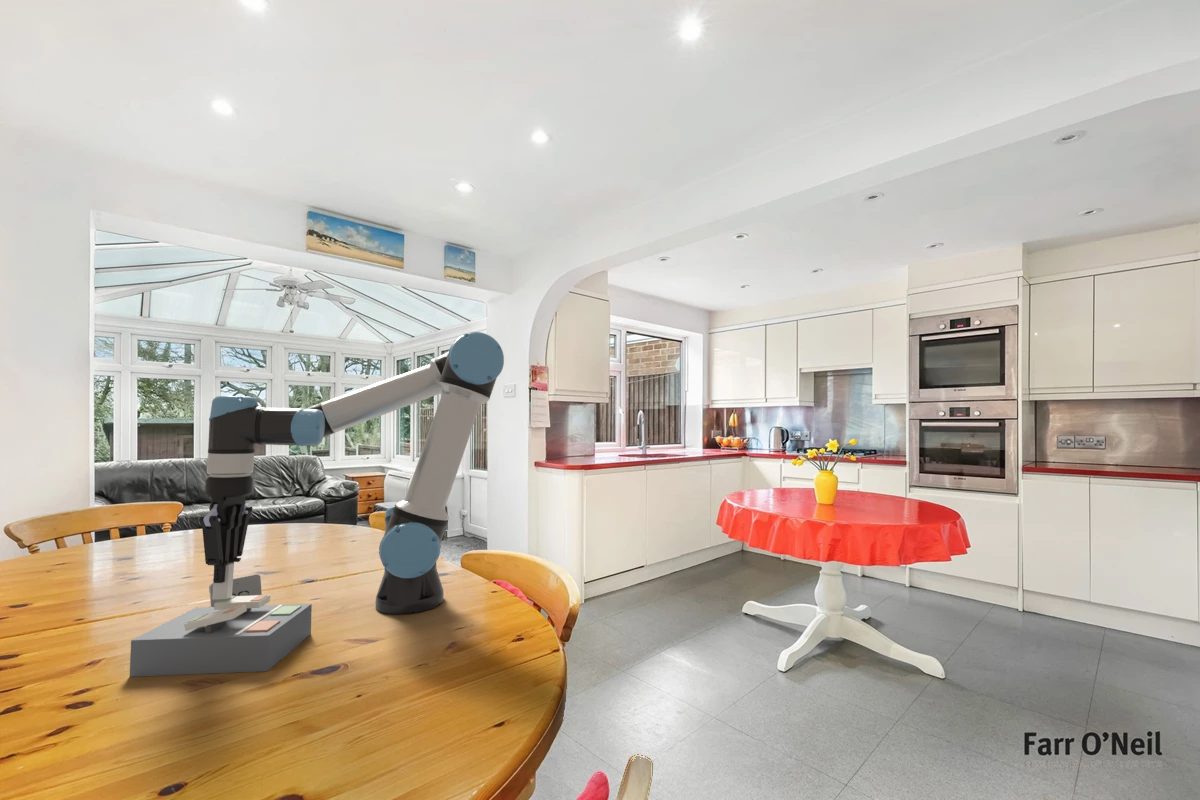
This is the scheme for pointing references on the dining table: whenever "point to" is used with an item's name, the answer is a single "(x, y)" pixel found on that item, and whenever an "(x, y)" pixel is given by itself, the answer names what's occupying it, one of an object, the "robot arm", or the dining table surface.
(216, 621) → the rocker
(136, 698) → the dining table surface
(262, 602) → the rocker
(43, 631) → the dining table surface
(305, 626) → the console
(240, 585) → the electrical switch
